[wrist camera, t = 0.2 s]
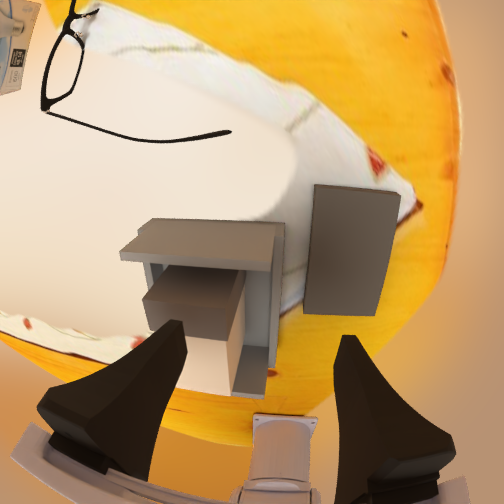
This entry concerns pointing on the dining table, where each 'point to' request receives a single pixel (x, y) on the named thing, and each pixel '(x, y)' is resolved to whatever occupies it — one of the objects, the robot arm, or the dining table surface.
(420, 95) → the dining table surface
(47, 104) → the eyeglasses
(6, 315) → the dining table surface
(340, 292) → the rubber mat
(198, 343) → the box
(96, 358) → the dining table surface
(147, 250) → the grey open tray
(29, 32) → the light bulb box
